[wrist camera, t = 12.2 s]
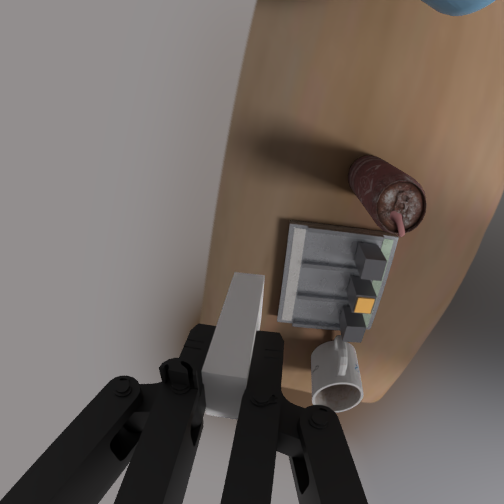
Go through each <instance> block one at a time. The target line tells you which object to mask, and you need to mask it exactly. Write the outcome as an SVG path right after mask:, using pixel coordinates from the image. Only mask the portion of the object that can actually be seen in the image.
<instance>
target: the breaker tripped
mask: <svg viewBox="0 0 504 504" xmlns="http://www.w3.org/2000/svg"><path fill="white" fill-rule="evenodd" d="M347 296H348V300H349V304H350V308H351V313H364V314H371V313H372V310H373V307H374V304H375V301H376V298H377V296H376V293H375V290H374V288H373V285H372V283H371V280H365V279H360V277H354V276H351V278H350V282H349V286H348V290H347Z"/></svg>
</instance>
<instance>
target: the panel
mask: <svg viewBox="0 0 504 504" xmlns="http://www.w3.org/2000/svg"><path fill="white" fill-rule="evenodd" d="M397 241H398V236H397V234H395V233H389V232H383V231H376V230H368V229H361V228H353V227H345V226H337V225H329V224H321V223H312V222H304V221H295V220H290V224H289V232H288V240H287V249H286V257H285V264H284V272H283V280H282V287H281V295H280V302H279V309H278V317H277V322H286V323H292V326H295V327H305V328H316V329H328V330H340V325H339V318H340V315H341V311H342V308H343V306H348V307H350V304H349V300H348V296H347V290H348V286H349V282H350V278H351V276H354V277H360V276H359V273H358V270H357V267H356V265H355V262H354V260H355V256H356V252H357V247H358V242H359V243H367V244H375V245H378V246H379V248H380V249H381V251H382V253H383V255H384V256H385V258H386V260H387V264H386V267H385V271H384V274H383V277H382V281H376V280H371V283H372V285H373V288H374V290H375V293H376V296H377V298H376V301H375V304H374V307H373V310H372V313H371V314H364V313H362V314H363V317H364V321H365V325H366V329H370V328H371V326H372V323H373V320H374V317H375V314H376V311H377V308H378V305H379V302H380V299H381V296H382V293H383V290H384V287H385V284H386V280H387V277H388V274H389V270H390V267H391V263H392V260H393V256H394V253H395V249H396V245H397Z"/></svg>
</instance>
